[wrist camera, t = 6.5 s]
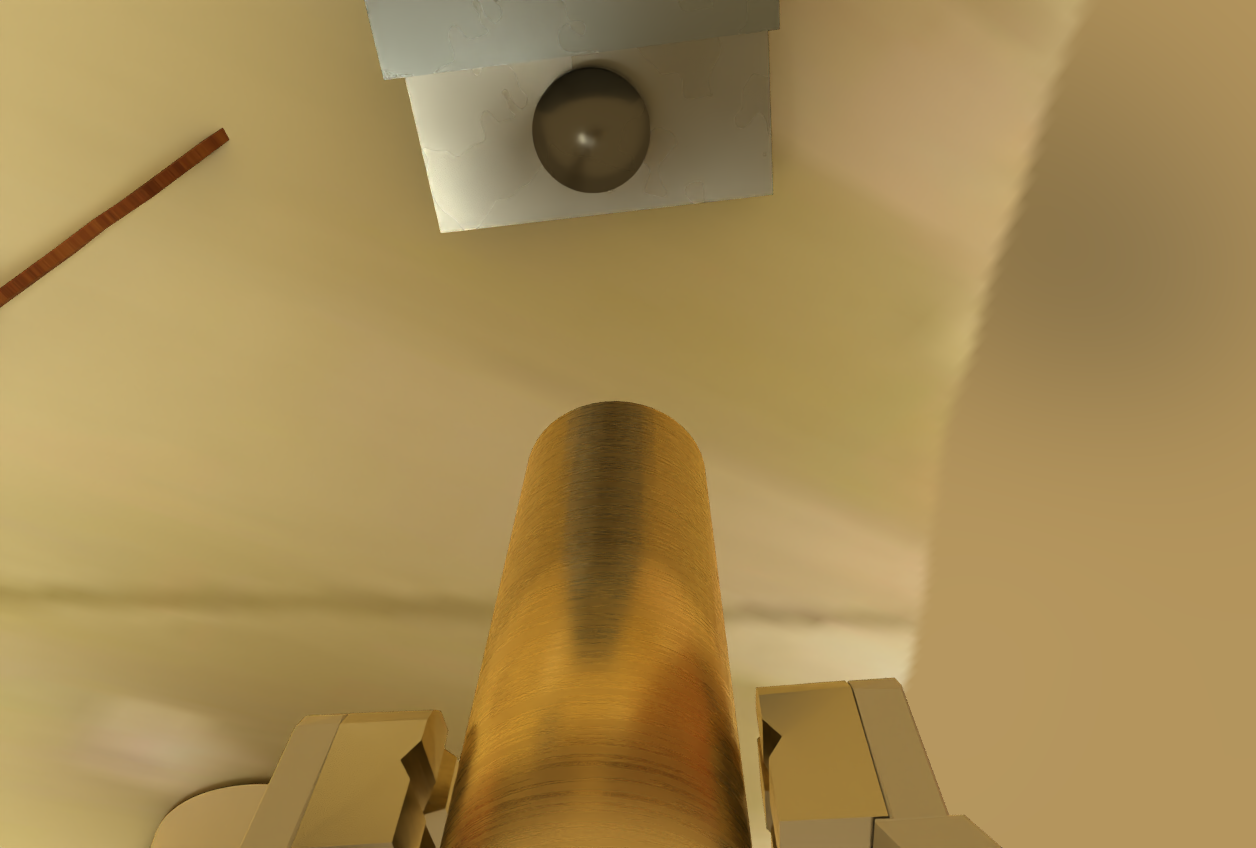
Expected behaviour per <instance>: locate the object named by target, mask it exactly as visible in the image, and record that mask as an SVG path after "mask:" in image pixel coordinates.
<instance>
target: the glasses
mask: <svg viewBox="0 0 1256 848" xmlns="http://www.w3.org/2000/svg"><path fill="white" fill-rule="evenodd" d="M228 140H229V138H228V136H227V135H226V133H225V131H224V129H223V128H222V129H220V130H219V131H217V132H216V133H214V134H213V135H211V136H209V137H208V138H206V139H205V140H203V141H202V142H200V143H199V144H198V145H196V146H195V147H194V148H192V149H191V150H190V151H188V152H187V153H186V154H184V155H183V156H181V157H180V158H179V159H177V160H176V161H175V162H173V163H172V164H171V165H169V166H168V167H167V168H165V169H164V170H162V171H161V172H160V173H158V174H157V175H156V176H154V177H153V178H152V179H150V180H149V181H148V182H146V183H145V184H143V185H142V186H141V187H139V188H138V189H137V190H135V191H134V192H133V193H131V194H130V195H128V196H127V197H126V198H124V199H123V200H122V201H120V202H119V203H117V204H116V205H114V206H113V207H111V208H110V209H108V210H107V211H105V212H104V213H102V214H101V215H99V216H98V217H96V218H95V219H93V220H92V221H91V222H89V223H88V224H87V225H85V226H84V227H83V228H81V229H80V230H79V231H77V232H76V233H75V234H73V235H72V236H71V237H69V238H68V239H67V240H65V241H64V242H63V243H61V244H60V245H59V246H57V247H56V248H55V249H53V250H52V251H50V252H49V253H48V254H46V255H45V256H44V257H42V258H41V259H40V260H38V261H37V262H35V263H34V264H33V265H31V266H30V267H29V268H27V269H26V270H24V271H23V272H22V273H20V274H19V275H18V276H16V277H15V278H14V279H12V280H11V281H9V282H8V283H7V284H5V285H4V286H3V287H1V288H0V307H2V306H3V305H4V304H6V303H7V302H9V301H10V300H11V299H13V298H14V297H15V296H17V295H18V294H20V293H21V292H22V291H24V290H25V289H26V288H28V287H29V286H31V285H32V284H33V283H35V282H36V281H37V280H39V279H40V278H42V277H43V276H44V275H46V274H47V273H48V272H50V271H51V270H53V269H54V268H55V267H57V266H58V265H59V264H61V263H62V262H64V261H65V260H66V259H68V258H69V257H70V256H72V255H73V254H74V253H76V252H77V251H79V250H80V249H81V248H82V247H84V246H85V245H86V244H87V243H89V242H90V241H91V240H92V239H94V238H95V237H96V236H97V235H99V234H100V233H101V232H103V231H104V230H105V229H106V228H108V227H109V226H110V225H112V224H113V223H115V222H116V221H118V220H119V219H121V218H122V217H124V216H125V215H127V214H128V213H130V212H131V211H133V210H134V209H136V208H137V207H139V206H140V205H142V204H143V203H145V202H146V201H148V200H149V199H151V198H152V197H153V196H155V195H156V194H157V193H159V192H160V191H161V190H163V189H164V188H165V187H167V186H168V185H169V184H171V183H172V182H173V181H175V180H176V179H177V178H179V177H180V176H181V175H183V174H184V173H185V172H187V171H188V170H189V169H191V168H192V167H193V166H195V165H196V164H197V163H199V162H200V161H201V160H203V159H204V158H205V157H207V156H208V155H209V154H211V153H212V152H213V151H215V150H216V149H217V148H219V147H220V146H222V145H223V144H224V143H226V142H227V141H228Z"/></svg>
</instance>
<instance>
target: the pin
mask: <svg viewBox="0 0 1256 848" xmlns="http://www.w3.org/2000/svg"><path fill="white" fill-rule="evenodd" d="M440 848H752V842H751V834H750V826H749V818H748V810H747V802H746V794H745V786H744V778H743V770H742V762H741V753H740V745H739V737H738V729H737V721H736V713H735V705H734V697H733V689H732V681H731V673H730V665H729V657H728V649H727V641H726V633H725V625H724V617H723V609H722V601H721V593H720V585H719V577H718V569H717V561H716V553H715V545H714V537H713V529H712V521H711V513H710V505H709V497H708V489H707V481H706V473H705V466H704V461H703V458H702V455H701V452H700V450H699V448H698V446H697V444H696V443H695V441H694V440H693V438H692V437H691V435H690V434H689V433H688V432H687V431H686V430H685V429H684V428H683V427H682V426H681V425H680V424H679V423H677V422H676V421H675V420H674V419H672V418H670V417H669V416H667V415H666V414H664V413H662V412H660V411H658V410H655V409H653V408H650V407H647V406H644V405H640V404H636V403H631V402H620V401H611V402H600V403H593V404H589V405H586V406H582V407H579V408H577V409H574V410H572V411H570V412H568V413H566V414H564V415H563V416H561V417H559V418H558V419H557V420H555V421H554V422H553V423H551V424H550V425H549V426H548V427H547V428H546V429H545V430H544V431H543V433H542V434H541V435H540V437H539V438H538V439H537V441H536V443H535V445H534V447H533V448H532V451H531V454H530V457H529V460H528V465H527V469H526V473H525V478H524V482H523V486H522V491H521V495H520V500H519V504H518V508H517V513H516V517H515V521H514V526H513V530H512V535H511V539H510V543H509V548H508V552H507V556H506V561H505V565H504V569H503V574H502V578H501V583H500V587H499V591H498V596H497V600H496V604H495V609H494V613H493V618H492V622H491V626H490V631H489V635H488V639H487V644H486V648H485V652H484V657H483V661H482V666H481V670H480V674H479V679H478V683H477V687H476V692H475V696H474V701H473V705H472V709H471V714H470V718H469V722H468V727H467V731H466V735H465V740H464V744H463V749H462V753H461V757H460V762H459V766H458V770H457V775H456V779H455V784H454V788H453V792H452V797H451V801H450V805H449V810H448V814H447V818H446V823H445V827H444V832H443V836H442V840H441V845H440Z"/></svg>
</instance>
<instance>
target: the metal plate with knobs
mask: <svg viewBox="0 0 1256 848" xmlns="http://www.w3.org/2000/svg"><path fill="white" fill-rule="evenodd" d="M364 1H365V5H366V9H367V13H368V17H369V22H370V26H371V30H372V34H373V38H374V42H375V46H376V50H377V54H378V59H379V63H380V67H381V71H382V75H383V79H384V80H389V79H396V78H404V77H405V81H406V85H407V89H408V94H409V98H410V102H411V107H412V111H413V115H414V120H415V124H416V128H417V133H418V137H419V141H420V145H421V150H422V154H423V158H424V163H425V167H426V171H427V176H428V180H429V184H430V189H431V193H432V197H433V202H434V206H435V210H436V215H437V219H438V223H439V228H440V232H441V233H446V232H455V231H463V230H472V229H481V228H489V227H498V226H506V225H515V224H524V223H532V222H541V221H550V220H558V219H567V218H575V217H584V216H593V215H601V214H610V213H619V212H627V211H636V210H644V209H653V208H662V207H670V206H679V205H688V204H696V203H705V202H713V201H722V200H731V199H739V198H748V197H757V196H765V195H773V174H772V142H771V109H770V76H769V44H768V31H769V30H777V29H780V23H779V0H364Z"/></svg>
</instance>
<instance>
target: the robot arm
mask: <svg viewBox="0 0 1256 848" xmlns="http://www.w3.org/2000/svg"><path fill="white" fill-rule="evenodd" d="M756 714H757V721H758V728H759V735H760V737H759V738H758V739H757V742H758V756H759V770H760V782H761V791H762V799H763V806H764V813H765V821H766V828H767V829H768V830H769V831H770V833H771V848H1002V847H1001V846H999V845H998V844H997V843H996V842H995V841H994V840H993V839H991V838H990V837H989V836H988V835H987V834H986V833H985V832H984V831H982V830H981V829H980V828H979V827H978V826H977V825H976V824H974V823H973V822H972V821H971V820H970V819H969V818H968V817H966V816H965V815H949V813H948V811H947V808H946V805H945V802H944V800H943V797H942V794H941V792H940V789H939V786H938V783H937V781H936V778H935V775H934V773H933V770H932V767H931V764H930V762H929V759H928V756H927V754H926V751H925V748H924V746H923V743H922V740H921V737H920V735H919V732H918V729H917V726H916V724H915V721H914V718H913V716H912V713H911V710H910V707H909V705H908V702H907V699H906V696H905V694H904V691H903V688H902V686H901V684H900V683H899V682H898V681H897V680H896V679H895V678H883V679H868V680H854V681H848V682H846V681H832V682H819V683H807V684H794V685H781V686H768V687H756ZM447 735H448V728H447V726H446V723H445V720H444V718H443V715H442V712H441V711H438V710H418V711H392V712H366V713H349V714H330V715H309V716H305V717H304V718H303V719H302V720H301V721H300V722H299V724H298V725H297V726H296V727H295V728H294V730H293V732H292V734H291V736H290V738H289V740H288V743H287V745H286V747H285V749H284V751H283V753H282V756H281V758H280V760H279V762H278V764H277V767H276V769H275V771H274V773H273V775H272V777H271V780H270V782H269V784H250V785H238V786H231V787H225V788H220V789H216V790H212V791H209V792H206V793H203V794H200V795H197V796H195V797H193V798H191V799H189V800H187V801H185V802H183V803H182V804H180V805H179V806H177V807H176V808H174V809H173V810H172V811H171V812H170V813H169V814H168V815H167V816H166V817H165V818H164V819H163V821H162V822H161V823H160V825H159V827H158V829H157V831H156V833H155V836H154V839H153V842H152V844H151V847H150V848H440V845H441V840H442V836H443V832H444V827H445V823H446V818H447V814H448V810H449V805H450V801H451V797H452V792H453V788H454V784H455V779H456V775H457V770H458V766H459V763H458V759H457V757H455V756H454V755H453V754H451V753H450V752H448V751H447V750H446V749H444V747H445V743H446V739H447Z"/></svg>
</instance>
